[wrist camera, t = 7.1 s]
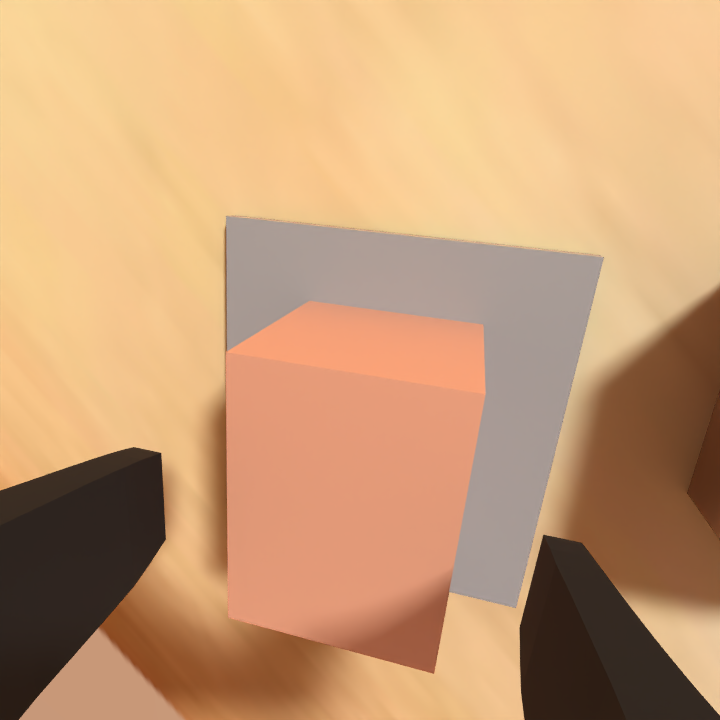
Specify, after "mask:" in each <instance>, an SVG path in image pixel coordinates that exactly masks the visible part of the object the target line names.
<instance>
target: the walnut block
mask: <svg viewBox="0 0 720 720" xmlns="http://www.w3.org/2000/svg"><path fill="white" fill-rule="evenodd" d="M687 494H688V495H689V496H690V498H691V499H692V501H693V502H694V504H695V505H696V506H697V508H698V509H699V511H700V512H701V514H702V515H703V517H704V518H705V519H706V521H707V522H708V524H709V525H710V527H711V528H712V529H713V531H714V532H715V534H716V535H717V537H718V538H719V539H720V391H719V394H718V398H717V401H716V404H715V407H714V410H713V413H712V417H711V420H710V423H709V426H708V429H707V432H706V436H705V439H704V442H703V445H702V448H701V451H700V455H699V458H698V461H697V464H696V467H695V470H694V474H693V477H692V480H691V483H690V486H689V489H688V492H687Z"/></svg>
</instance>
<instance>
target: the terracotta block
mask: <svg viewBox="0 0 720 720" xmlns="http://www.w3.org/2000/svg"><path fill="white" fill-rule="evenodd" d="M485 395H486V393H485V359H484V326H483V324H476V323H469V322H461V321H454V320H447V319H439V318H432V317H425V316H417V315H410V314H403V313H395V312H388V311H381V310H373V309H366V308H359V307H351V306H344V305H337V304H329V303H322V302H315V301H308V302H307V303H305V304H303V305H302V306H300V307H299V308H297V309H295V310H294V311H292V312H290V313H289V314H287V315H286V316H284V317H282V318H281V319H279V320H277V321H276V322H274V323H272V324H271V325H269V326H268V327H266V328H264V329H263V330H261V331H259V332H258V333H256V334H255V335H253V336H251V337H250V338H248V339H246V340H245V341H243V342H241V343H240V344H238V345H237V346H235V347H233V348H232V349H230V350H228V351H227V352H226V439H227V550H228V618H231V619H235V620H239V621H242V622H246V623H250V624H253V625H257V626H261V627H264V628H268V629H272V630H275V631H279V632H283V633H286V634H290V635H294V636H297V637H301V638H305V639H308V640H312V641H316V642H319V643H323V644H327V645H331V646H334V647H338V648H342V649H345V650H349V651H353V652H356V653H360V654H364V655H367V656H371V657H375V658H378V659H382V660H386V661H389V662H393V663H397V664H400V665H404V666H408V667H411V668H415V669H419V670H422V671H426V672H430V673H433V674H434V671H435V666H436V660H437V655H438V649H439V644H440V639H441V633H442V628H443V622H444V617H445V611H446V606H447V601H448V595H449V590H450V584H451V579H452V574H453V568H454V563H455V557H456V552H457V546H458V541H459V536H460V530H461V525H462V519H463V514H464V508H465V503H466V498H467V492H468V487H469V481H470V476H471V471H472V465H473V460H474V454H475V449H476V443H477V438H478V433H479V427H480V422H481V416H482V411H483V405H484V400H485Z"/></svg>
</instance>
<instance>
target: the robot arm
mask: <svg viewBox="0 0 720 720" xmlns="http://www.w3.org/2000/svg"><path fill="white" fill-rule="evenodd" d="M165 540H166V535H165V516H164V497H163V478H162V459H161V453H158V452H154V451H149V450H144V449H140V448H135V447H133V448H129V449H125V450H121V451H117V452H114V453H110V454H107V455H104V456H101V457H98V458H95V459H92V460H89V461H86V462H83V463H80V464H77V465H74V466H71V467H68V468H65V469H62V470H59V471H56V472H53V473H51V474H48V475H45V476H42V477H39V478H36V479H33V480H30V481H27V482H24V483H21V484H18V485H16V486H13V487H10V488H7V489H4V490H1V491H0V720H19V719H20V717H21V716H22V715H23V714H24V712H25V711H26V710H27V709H28V708H29V706H30V705H31V704H32V703H33V702H34V700H35V699H36V698H37V697H38V696H39V694H40V693H41V692H42V691H43V690H44V689H45V688H46V686H47V685H48V684H49V683H50V682H51V681H52V679H54V677H55V676H56V675H57V674H58V673H59V672H60V670H61V669H62V668H63V667H64V666H65V665H66V663H68V661H69V660H70V659H71V658H72V657H73V656H74V655H75V654H76V652H77V651H78V650H79V649H80V648H81V647H82V645H83V644H84V643H85V642H86V641H87V640H88V639H89V638H90V636H91V635H92V634H93V633H94V632H95V631H96V630H97V629H98V627H99V626H100V625H101V624H102V623H103V622H104V621H105V619H106V618H107V617H108V616H109V615H110V614H111V612H112V611H113V610H114V609H115V608H116V607H117V605H118V604H119V603H120V602H121V601H122V600H123V599H124V597H125V596H126V595H127V594H128V593H129V591H130V590H131V589H132V588H133V587H134V585H135V584H136V583H137V581H138V580H139V578H140V577H141V576H142V574H143V573H144V571H145V570H146V568H147V567H148V566H149V564H150V563H151V561H152V560H153V558H154V556H155V555H156V553H157V552H158V550H159V549H160V547H161V546H162V544H163V543H164V541H165ZM520 671H521V694H522V703H523V711H524V719H525V720H720V715H719V714H718V713H717V712H716V711H715V710H714V709H713V707H712V706H711V705H710V704H709V703H708V702H707V701H706V699H705V698H704V697H703V696H702V695H701V694H700V693H699V691H698V690H697V689H696V688H695V687H694V686H693V684H692V683H691V682H690V681H689V680H688V678H687V677H686V676H685V675H684V674H683V672H682V671H681V670H680V669H679V668H678V666H677V665H676V664H675V663H674V662H673V660H672V659H671V658H670V657H669V656H668V654H667V653H666V652H665V651H664V649H663V648H662V647H661V646H660V644H659V643H658V642H657V641H656V639H655V638H654V637H653V636H652V634H651V633H650V632H649V631H648V629H647V628H646V627H645V626H644V624H643V623H642V622H641V620H640V619H639V618H638V616H637V615H636V614H635V613H634V611H633V610H632V609H631V607H630V606H629V605H628V603H627V602H626V601H625V600H624V598H623V597H622V596H621V594H620V593H619V592H618V590H617V589H616V588H615V586H614V585H613V584H612V582H611V581H610V580H609V578H608V577H607V576H606V574H605V573H604V572H603V570H602V569H601V568H600V566H599V565H598V564H597V562H596V561H595V560H594V558H593V557H592V556H591V554H590V553H589V552H588V550H587V549H586V548H585V546H584V545H583V544H582V543H579V542H575V541H570V540H565V539H561V538H556V537H551V536H547V535H543V539H542V543H541V547H540V550H539V554H538V558H537V562H536V566H535V570H534V574H533V578H532V582H531V586H530V590H529V593H528V597H527V601H526V605H525V609H524V613H523V617H522V621H521V625H520Z"/></svg>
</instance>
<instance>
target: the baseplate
mask: <svg viewBox="0 0 720 720" xmlns="http://www.w3.org/2000/svg"><path fill="white" fill-rule="evenodd" d="M226 254H227V351H228V350H230V349H232V348H233V347H235V346H237V345H238V344H240V343H241V342H243V341H245V340H246V339H248V338H250V337H251V336H253V335H255V334H256V333H258V332H259V331H261V330H263V329H264V328H266V327H268V326H269V325H271V324H272V323H274V322H276V321H277V320H279V319H281V318H282V317H284V316H286V315H287V314H289V313H290V312H292V311H294V310H295V309H297V308H299V307H300V306H302V305H303V304H305V303H307V302H308V301H315V302H322V303H329V304H337V305H344V306H351V307H359V308H366V309H373V310H381V311H388V312H395V313H403V314H410V315H417V316H425V317H432V318H439V319H447V320H454V321H461V322H469V323H476V324H483V326H484V359H485V393H486V395H485V400H484V405H483V411H482V416H481V422H480V427H479V433H478V438H477V443H476V449H475V454H474V460H473V465H472V471H471V476H470V481H469V487H468V492H467V498H466V503H465V508H464V514H463V519H462V525H461V530H460V536H459V541H458V546H457V552H456V557H455V563H454V568H453V574H452V579H451V584H450V590H449V592H452V593H456V594H460V595H464V596H468V597H473V598H477V599H481V600H485V601H489V602H493V603H497V604H501V605H506V606H510V607H514V608H516V606H517V602H518V598H519V594H520V590H521V586H522V582H523V578H524V574H525V570H526V566H527V562H528V558H529V554H530V550H531V546H532V542H533V538H534V534H535V530H536V526H537V522H538V518H539V514H540V510H541V506H542V502H543V498H544V494H545V490H546V486H547V482H548V478H549V474H550V470H551V466H552V462H553V458H554V454H555V450H556V446H557V442H558V438H559V434H560V430H561V426H562V422H563V418H564V414H565V410H566V406H567V402H568V398H569V394H570V390H571V386H572V382H573V378H574V374H575V370H576V366H577V362H578V358H579V354H580V350H581V346H582V342H583V338H584V334H585V330H586V326H587V322H588V318H589V314H590V310H591V306H592V302H593V298H594V294H595V290H596V286H597V282H598V278H599V274H600V270H601V266H602V262H603V258H604V257H602V256H600V255H592V254H583V253H574V252H565V251H555V250H546V249H537V248H528V247H519V246H509V245H500V244H491V243H482V242H473V241H463V240H454V239H445V238H436V237H427V236H417V235H408V234H399V233H390V232H381V231H371V230H362V229H353V228H344V227H335V226H325V225H316V224H307V223H298V222H289V221H279V220H270V219H261V218H252V217H243V216H226Z"/></svg>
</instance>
